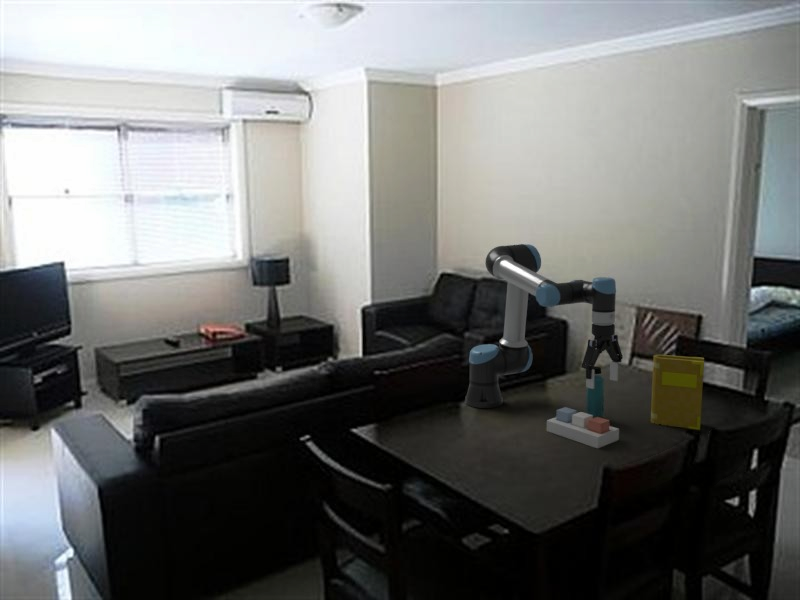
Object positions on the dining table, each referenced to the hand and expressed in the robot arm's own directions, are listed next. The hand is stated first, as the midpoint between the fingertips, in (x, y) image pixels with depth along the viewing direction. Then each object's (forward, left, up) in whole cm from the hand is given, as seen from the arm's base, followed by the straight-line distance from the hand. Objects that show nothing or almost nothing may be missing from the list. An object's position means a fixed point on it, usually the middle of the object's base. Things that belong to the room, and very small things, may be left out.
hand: (602, 384), depth 237 cm
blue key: (-14, -2, -18) cm, 22 cm away
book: (+8, +33, -20) cm, 40 cm away
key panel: (-7, -2, -20) cm, 21 cm away
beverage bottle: (-15, +16, -20) cm, 30 cm away
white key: (-7, -2, -18) cm, 19 cm away
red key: (0, -2, -17) cm, 18 cm away
